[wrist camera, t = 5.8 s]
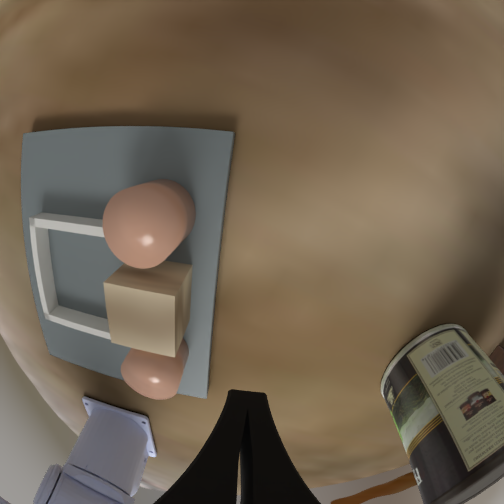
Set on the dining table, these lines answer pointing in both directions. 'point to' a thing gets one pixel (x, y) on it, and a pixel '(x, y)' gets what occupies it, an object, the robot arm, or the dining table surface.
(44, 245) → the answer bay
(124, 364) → the pink rounded cylinder
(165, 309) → the maple cube
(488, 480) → the coffee can
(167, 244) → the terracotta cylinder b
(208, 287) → the slate board
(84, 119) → the dining table surface
